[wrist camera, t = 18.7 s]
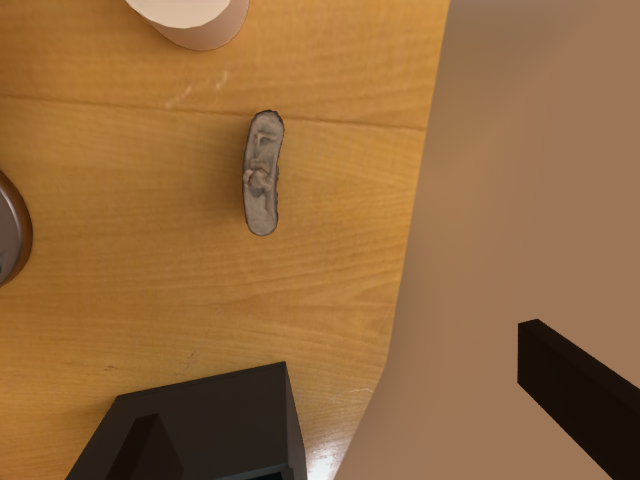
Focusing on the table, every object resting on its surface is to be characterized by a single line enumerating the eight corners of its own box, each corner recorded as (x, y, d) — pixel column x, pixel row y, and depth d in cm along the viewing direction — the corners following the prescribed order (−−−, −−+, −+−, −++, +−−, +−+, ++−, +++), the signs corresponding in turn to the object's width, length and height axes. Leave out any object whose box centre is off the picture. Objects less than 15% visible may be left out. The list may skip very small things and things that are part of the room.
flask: (277, 213, 33) (276, 246, 23) (248, 211, 33) (234, 243, 23) (284, 118, 31) (286, 107, 20) (252, 114, 30) (238, 101, 20)
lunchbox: (155, 484, 42) (105, 626, 30) (117, 395, 37) (38, 520, 25) (305, 450, 43) (315, 573, 31) (285, 361, 39) (288, 463, 26)
